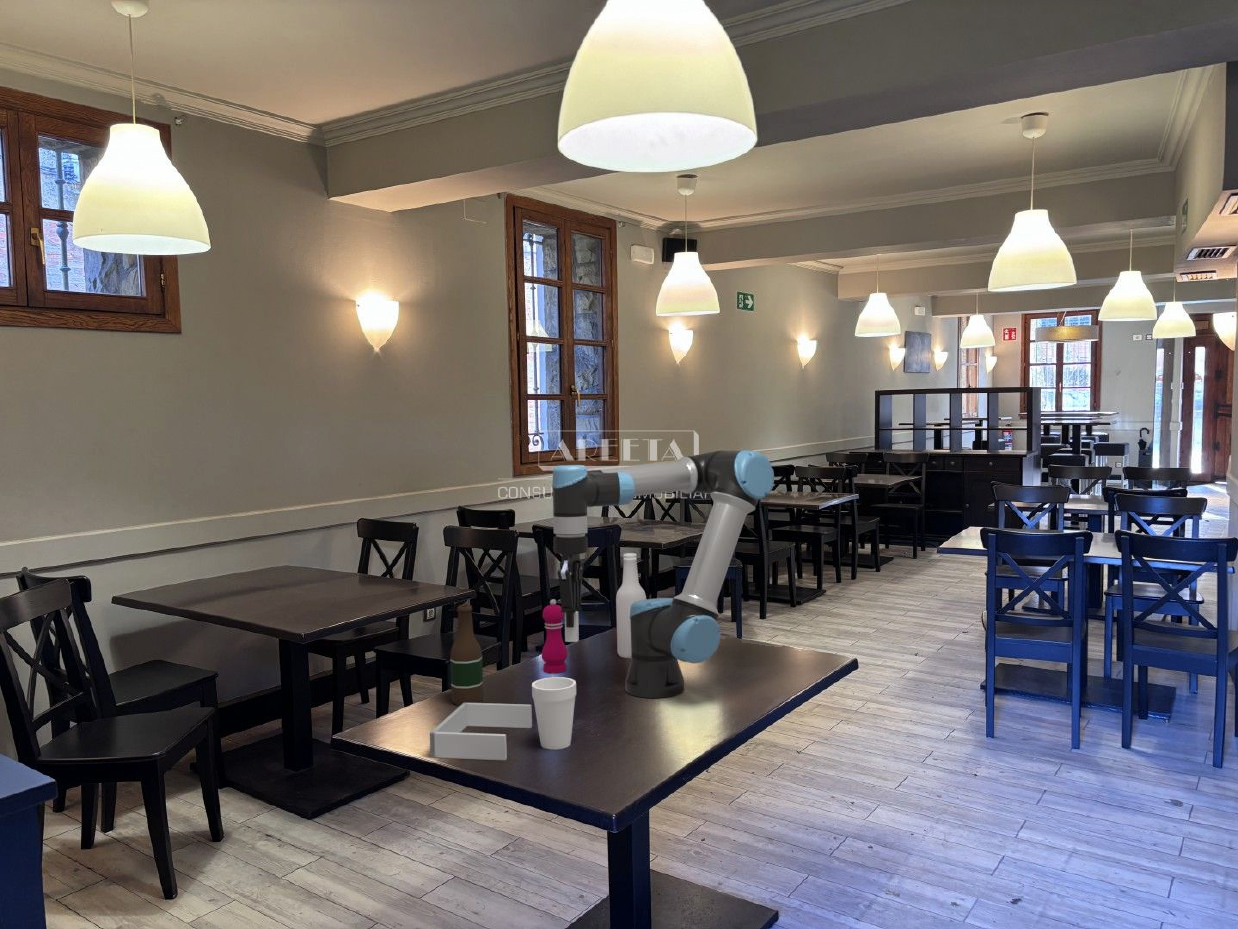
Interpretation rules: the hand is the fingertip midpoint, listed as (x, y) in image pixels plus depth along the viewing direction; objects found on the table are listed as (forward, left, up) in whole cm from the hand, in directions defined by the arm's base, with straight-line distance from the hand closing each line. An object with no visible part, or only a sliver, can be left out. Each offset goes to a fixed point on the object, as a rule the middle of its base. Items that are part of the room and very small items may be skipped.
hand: (571, 641), depth 190 cm
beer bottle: (+31, -17, -20) cm, 40 cm away
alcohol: (-3, -64, -20) cm, 67 cm away
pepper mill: (+16, -46, -20) cm, 52 cm away
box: (+18, +9, -20) cm, 28 cm away
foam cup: (+2, +9, -20) cm, 22 cm away
